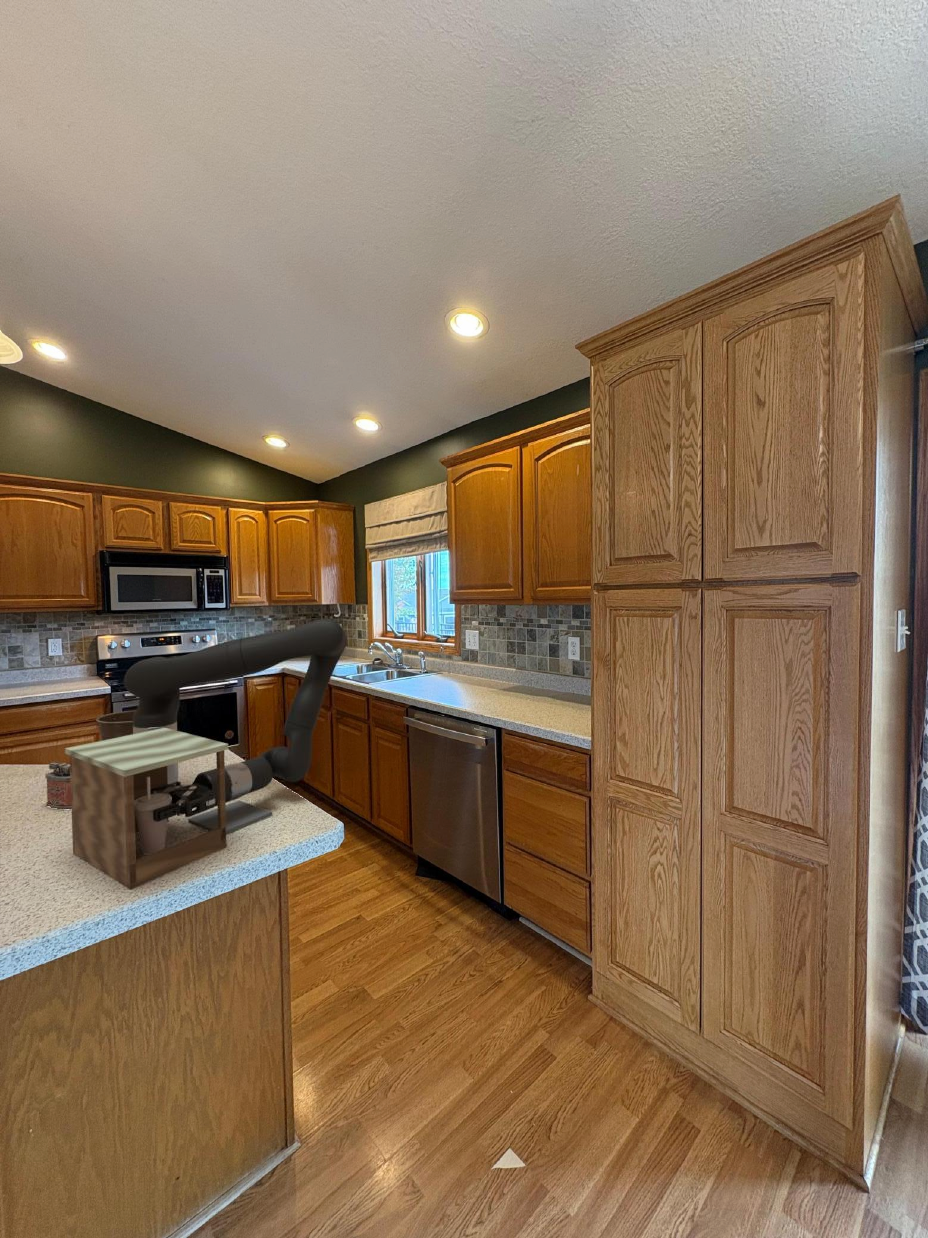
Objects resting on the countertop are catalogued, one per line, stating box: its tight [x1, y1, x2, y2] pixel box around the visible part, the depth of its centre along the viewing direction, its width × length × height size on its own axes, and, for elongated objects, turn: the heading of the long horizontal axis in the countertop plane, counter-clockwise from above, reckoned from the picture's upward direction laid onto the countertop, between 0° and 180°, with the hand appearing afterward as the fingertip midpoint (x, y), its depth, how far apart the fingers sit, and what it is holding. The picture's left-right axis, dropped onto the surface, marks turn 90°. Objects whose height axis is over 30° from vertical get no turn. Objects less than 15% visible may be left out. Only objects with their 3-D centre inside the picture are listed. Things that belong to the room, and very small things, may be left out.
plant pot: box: [95, 709, 137, 741], centre depth 141 cm, size 16×16×16 cm
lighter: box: [45, 762, 71, 809], centre depth 118 cm, size 8×3×10 cm, turn 71°
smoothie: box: [134, 777, 172, 855], centre depth 98 cm, size 6×6×14 cm
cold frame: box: [64, 728, 229, 890], centre depth 97 cm, size 23×18×20 cm
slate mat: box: [187, 800, 273, 836], centre depth 112 cm, size 12×12×1 cm
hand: (142, 811), depth 96 cm, fingers open, 8 cm apart
